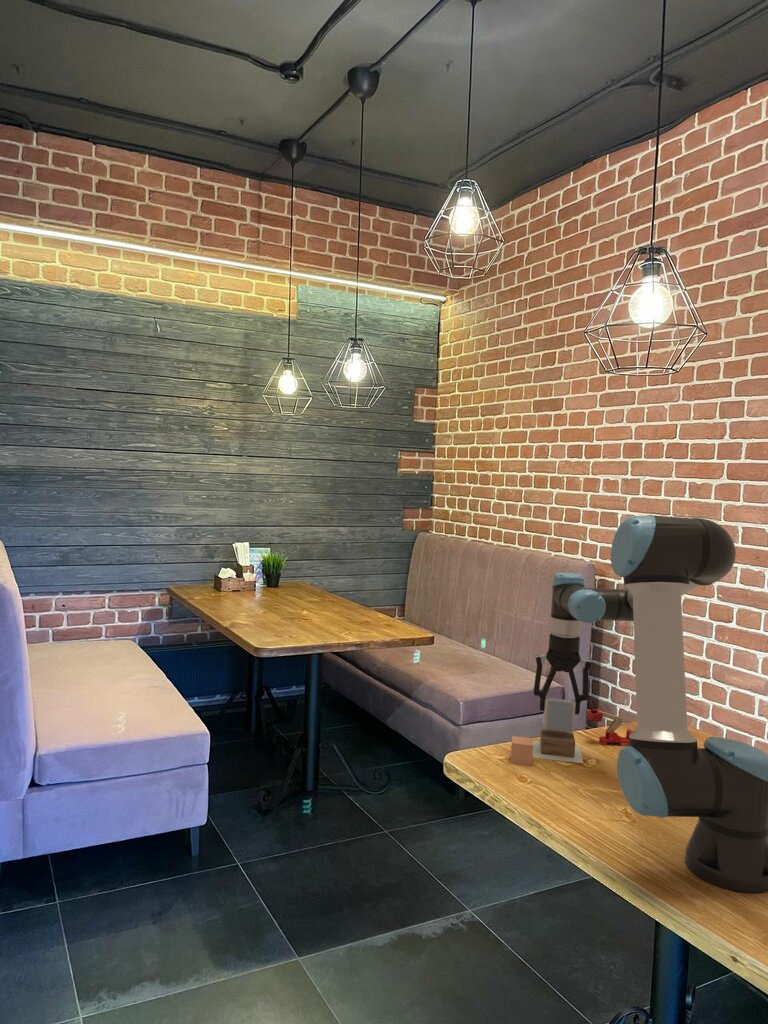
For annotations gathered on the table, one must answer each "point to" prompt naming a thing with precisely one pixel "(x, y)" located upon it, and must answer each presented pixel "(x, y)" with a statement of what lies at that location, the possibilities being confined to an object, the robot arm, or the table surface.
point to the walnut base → (557, 742)
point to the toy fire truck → (610, 728)
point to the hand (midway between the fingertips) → (558, 724)
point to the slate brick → (559, 714)
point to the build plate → (538, 754)
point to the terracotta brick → (522, 750)
